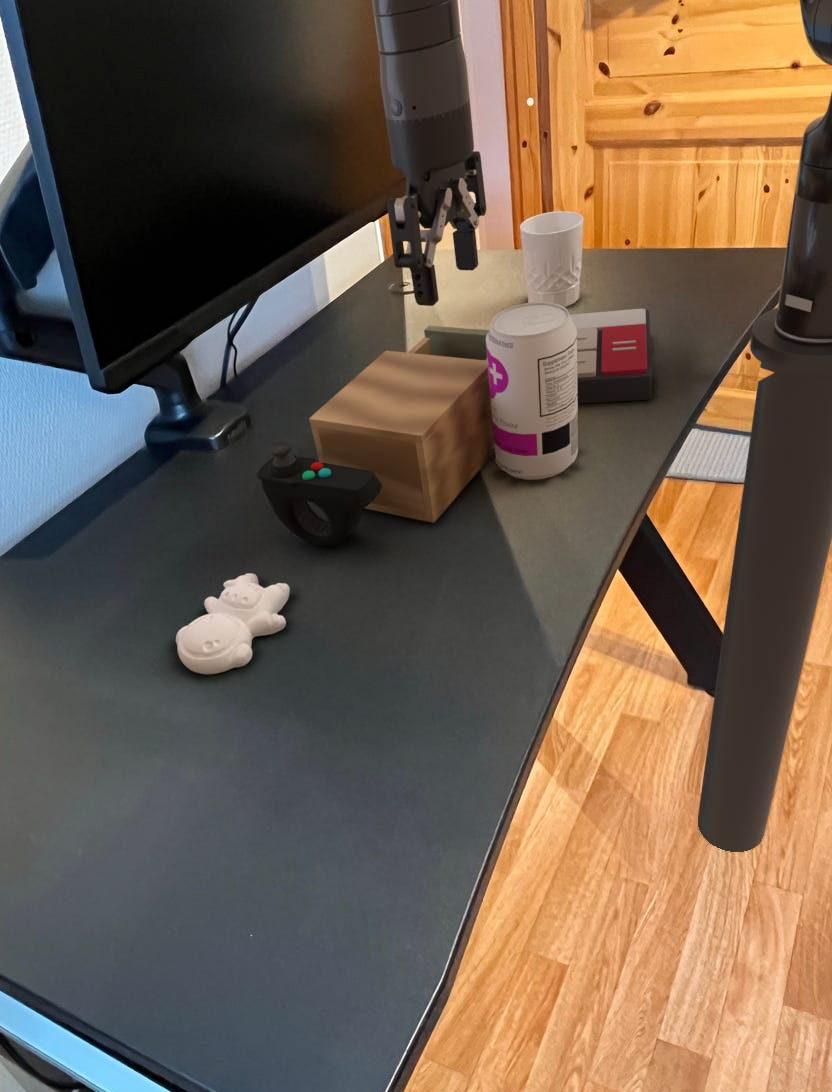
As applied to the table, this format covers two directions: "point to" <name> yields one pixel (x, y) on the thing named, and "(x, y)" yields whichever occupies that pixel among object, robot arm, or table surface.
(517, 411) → the supplement can
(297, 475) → the controller
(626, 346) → the calculator
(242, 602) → the white animal figurine
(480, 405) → the cabinet
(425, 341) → the drawer
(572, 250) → the white cup
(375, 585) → the table surface
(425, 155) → the robot arm
